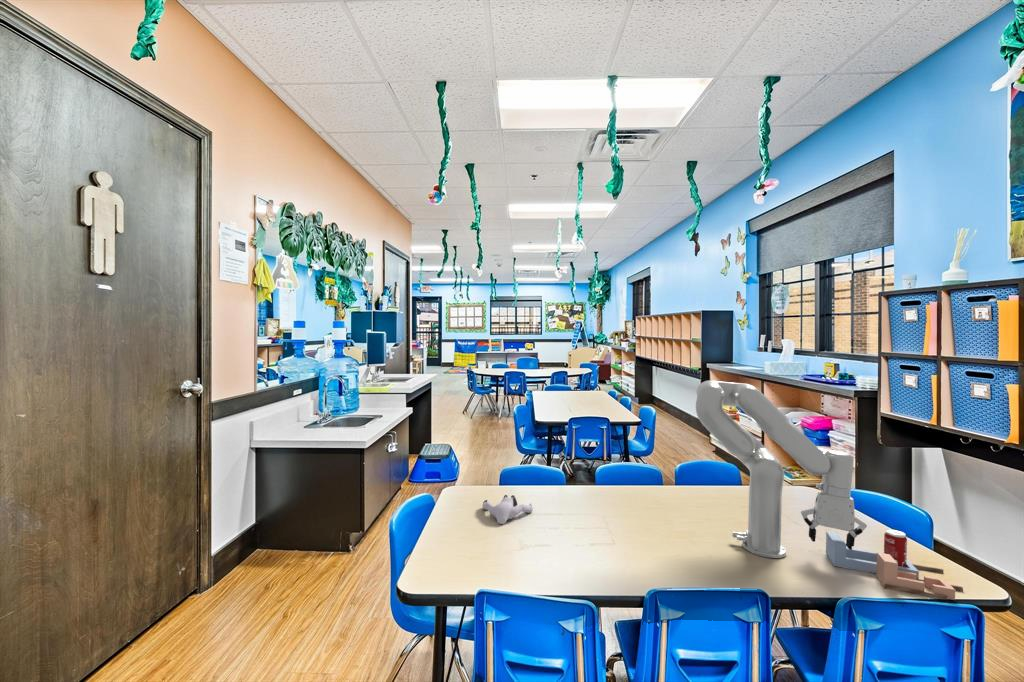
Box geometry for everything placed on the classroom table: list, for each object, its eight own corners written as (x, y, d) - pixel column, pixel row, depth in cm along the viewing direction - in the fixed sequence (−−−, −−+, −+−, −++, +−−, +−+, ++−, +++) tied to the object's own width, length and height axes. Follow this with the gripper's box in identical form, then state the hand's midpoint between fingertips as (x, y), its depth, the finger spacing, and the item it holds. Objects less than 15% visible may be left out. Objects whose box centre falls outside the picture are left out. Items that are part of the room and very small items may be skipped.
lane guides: (885, 588, 126) (885, 584, 126) (862, 558, 144) (862, 555, 144) (978, 606, 118) (979, 602, 118) (942, 572, 136) (942, 569, 136)
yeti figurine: (489, 507, 185) (471, 525, 166) (488, 491, 185) (470, 507, 166) (535, 509, 179) (522, 528, 160) (534, 492, 179) (521, 509, 160)
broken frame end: (933, 596, 123) (933, 585, 123) (923, 585, 128) (923, 575, 128) (955, 600, 121) (955, 589, 121) (944, 589, 126) (944, 579, 126)
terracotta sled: (883, 585, 127) (884, 561, 127) (876, 575, 132) (876, 552, 132) (924, 593, 123) (925, 567, 123) (914, 582, 129) (915, 558, 129)
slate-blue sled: (834, 565, 138) (834, 543, 138) (825, 552, 147) (826, 531, 146) (918, 580, 130) (919, 556, 130) (904, 566, 139) (905, 543, 139)
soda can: (893, 566, 139) (894, 528, 139) (910, 575, 133) (911, 535, 133) (878, 567, 138) (879, 528, 138) (895, 576, 133) (896, 536, 133)
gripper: (806, 488, 141) (801, 541, 142) (873, 500, 135) (868, 556, 135) (801, 481, 148) (796, 532, 149) (864, 492, 142) (859, 545, 142)
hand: (830, 543), depth 142 cm, fingers open, 9 cm apart
